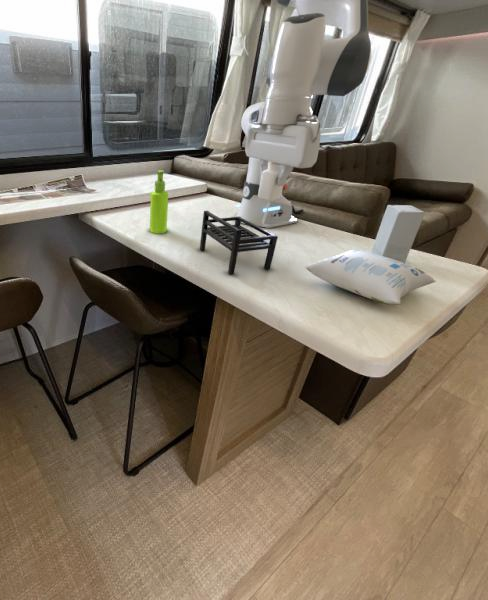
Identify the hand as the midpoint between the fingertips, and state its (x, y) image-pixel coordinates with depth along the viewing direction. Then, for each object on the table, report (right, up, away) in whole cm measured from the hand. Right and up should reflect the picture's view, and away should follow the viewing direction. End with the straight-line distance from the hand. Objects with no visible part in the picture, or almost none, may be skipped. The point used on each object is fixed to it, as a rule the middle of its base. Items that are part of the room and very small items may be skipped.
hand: (271, 182), depth 75 cm
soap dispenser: (-23, -3, +40) cm, 46 cm away
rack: (-3, -16, +18) cm, 24 cm away
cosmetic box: (+39, -17, +16) cm, 45 cm away
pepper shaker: (0, -3, +2) cm, 4 cm away
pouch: (+22, -25, +2) cm, 34 cm away
